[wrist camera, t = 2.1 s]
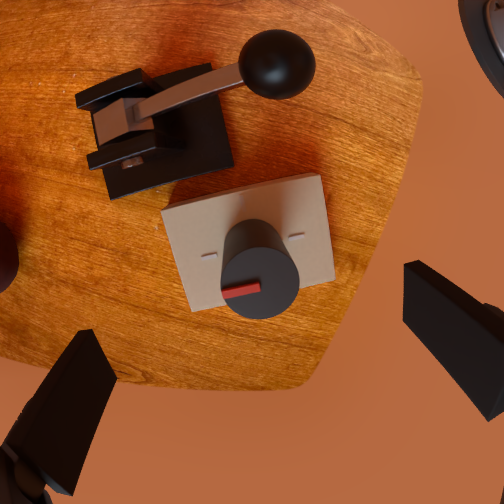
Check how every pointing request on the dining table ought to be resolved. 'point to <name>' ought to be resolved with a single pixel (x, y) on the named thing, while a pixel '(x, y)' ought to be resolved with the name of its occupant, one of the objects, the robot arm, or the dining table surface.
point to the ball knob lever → (218, 84)
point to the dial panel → (242, 208)
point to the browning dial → (257, 271)
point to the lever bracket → (158, 135)
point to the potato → (7, 257)
